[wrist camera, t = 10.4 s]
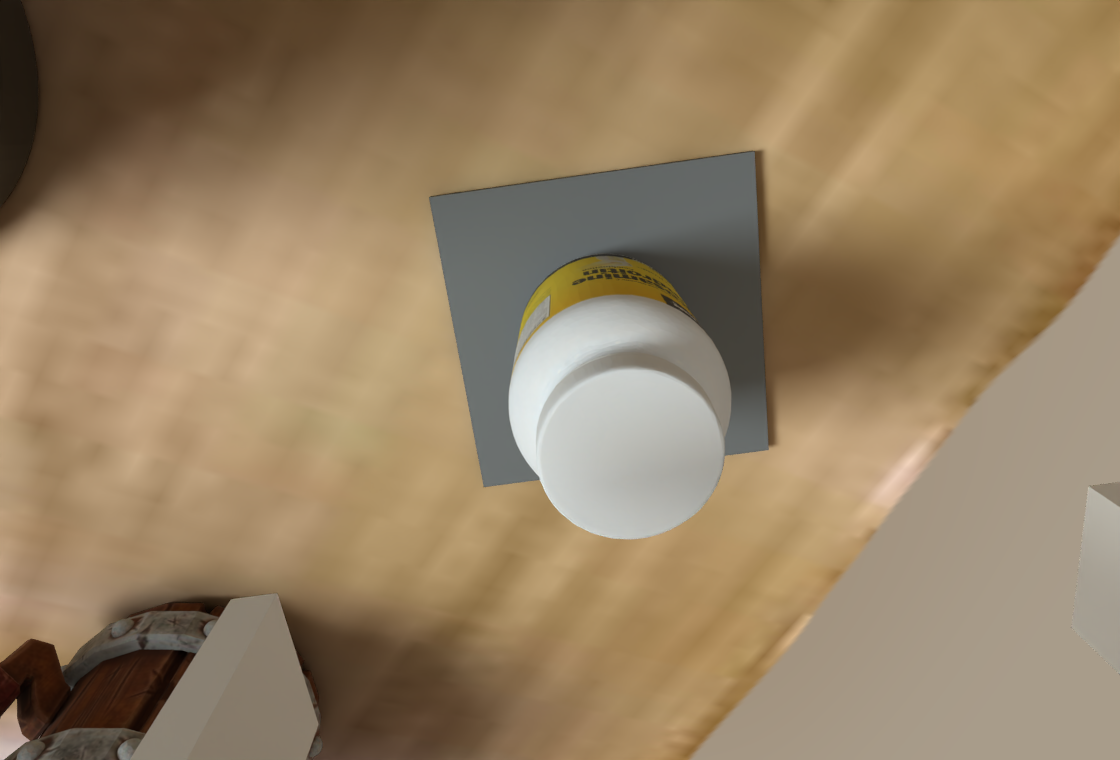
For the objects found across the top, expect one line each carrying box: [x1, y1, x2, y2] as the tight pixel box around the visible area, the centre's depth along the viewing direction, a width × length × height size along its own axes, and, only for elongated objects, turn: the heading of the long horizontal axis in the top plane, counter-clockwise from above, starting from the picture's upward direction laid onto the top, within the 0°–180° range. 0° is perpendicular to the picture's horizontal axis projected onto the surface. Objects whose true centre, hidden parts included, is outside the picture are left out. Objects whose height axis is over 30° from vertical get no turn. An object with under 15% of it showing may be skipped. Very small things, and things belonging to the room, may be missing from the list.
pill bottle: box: [509, 254, 731, 539], centre depth 24 cm, size 6×6×12 cm
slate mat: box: [429, 151, 769, 487], centre depth 29 cm, size 12×12×1 cm
